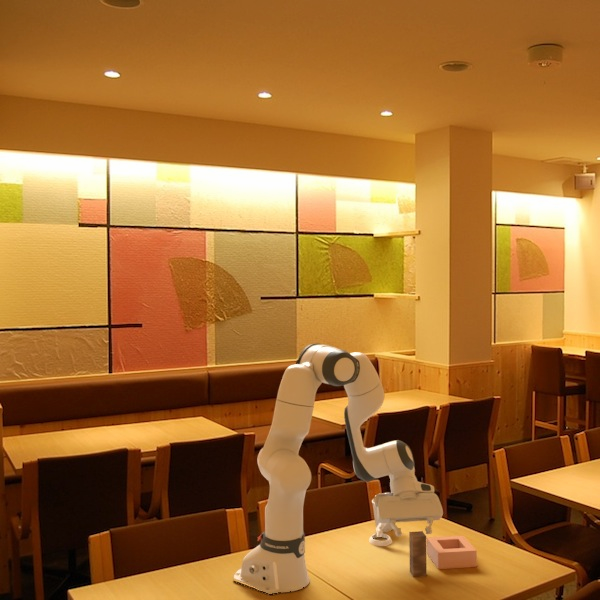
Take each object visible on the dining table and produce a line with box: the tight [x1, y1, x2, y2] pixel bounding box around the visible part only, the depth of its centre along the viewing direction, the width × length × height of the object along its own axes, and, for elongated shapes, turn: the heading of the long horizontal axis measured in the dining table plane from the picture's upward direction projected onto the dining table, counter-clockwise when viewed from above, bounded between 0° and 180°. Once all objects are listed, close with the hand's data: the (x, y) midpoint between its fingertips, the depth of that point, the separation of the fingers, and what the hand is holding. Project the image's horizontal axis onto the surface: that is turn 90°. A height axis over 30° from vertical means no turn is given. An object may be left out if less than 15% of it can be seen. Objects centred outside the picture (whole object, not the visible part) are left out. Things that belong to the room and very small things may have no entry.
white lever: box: [368, 523, 393, 547], centre depth 233 cm, size 8×12×7 cm
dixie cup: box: [371, 498, 393, 533], centre depth 244 cm, size 8×8×10 cm
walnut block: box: [408, 530, 427, 578], centre depth 208 cm, size 4×4×12 cm
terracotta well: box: [426, 535, 478, 570], centre depth 218 cm, size 12×12×5 cm
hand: (414, 534), depth 212 cm, fingers open, 8 cm apart
